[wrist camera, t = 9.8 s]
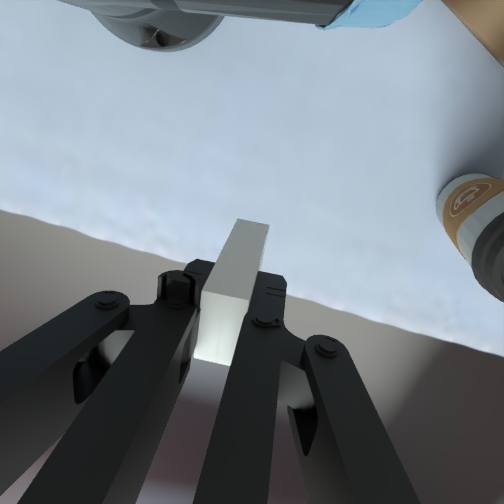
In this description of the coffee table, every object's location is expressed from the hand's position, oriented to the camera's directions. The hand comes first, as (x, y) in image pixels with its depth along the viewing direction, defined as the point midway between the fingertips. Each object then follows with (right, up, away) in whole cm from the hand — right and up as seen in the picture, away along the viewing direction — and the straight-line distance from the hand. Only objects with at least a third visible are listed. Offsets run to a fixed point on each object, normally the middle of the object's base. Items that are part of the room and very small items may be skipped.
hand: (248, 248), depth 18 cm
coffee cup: (+23, +5, +22) cm, 32 cm away
